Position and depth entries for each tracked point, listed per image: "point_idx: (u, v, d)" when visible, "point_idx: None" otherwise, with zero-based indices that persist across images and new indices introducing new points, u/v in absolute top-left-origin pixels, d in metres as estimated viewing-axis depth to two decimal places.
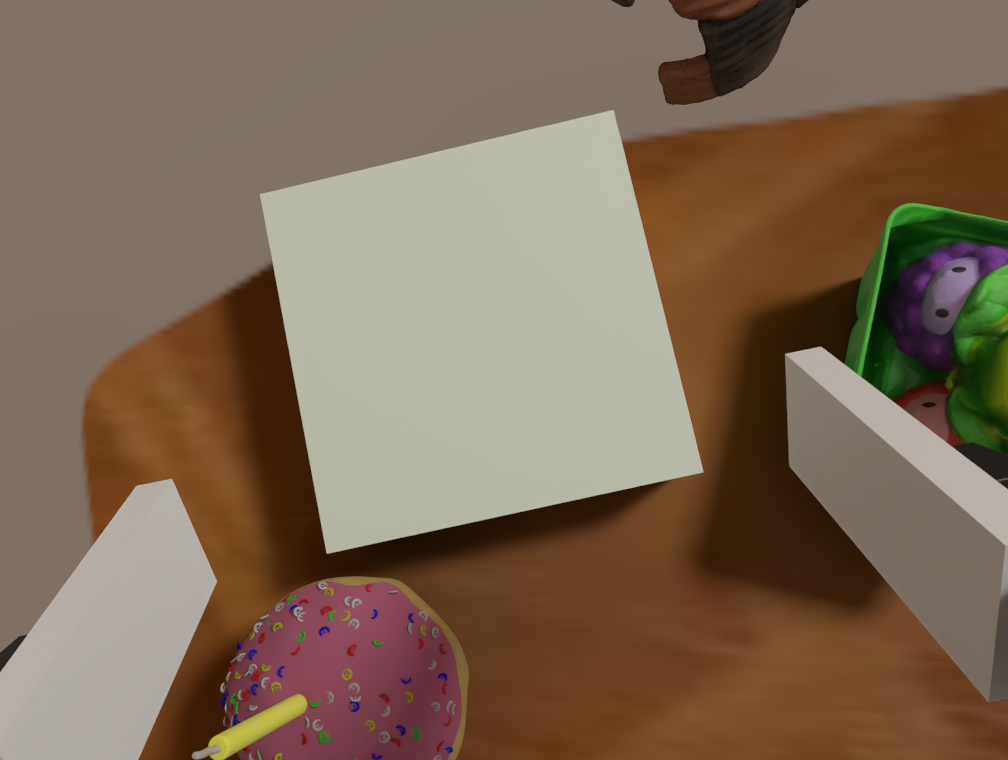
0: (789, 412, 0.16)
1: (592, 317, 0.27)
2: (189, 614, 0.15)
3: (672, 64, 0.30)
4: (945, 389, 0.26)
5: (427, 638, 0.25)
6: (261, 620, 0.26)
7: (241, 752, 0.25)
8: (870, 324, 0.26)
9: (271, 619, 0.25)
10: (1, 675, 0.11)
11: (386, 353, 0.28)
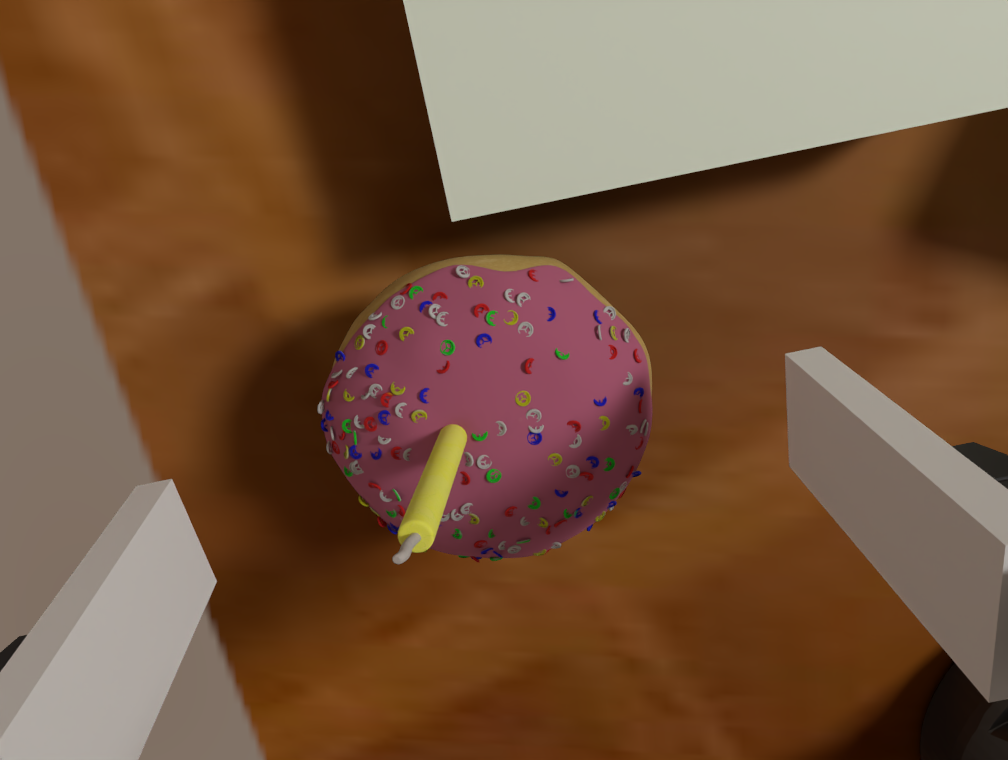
0: (789, 412, 0.16)
1: None
2: (189, 615, 0.15)
3: None
4: None
5: (618, 343, 0.18)
6: (371, 321, 0.17)
7: (364, 487, 0.18)
8: None
9: (389, 320, 0.17)
10: (2, 674, 0.11)
11: None
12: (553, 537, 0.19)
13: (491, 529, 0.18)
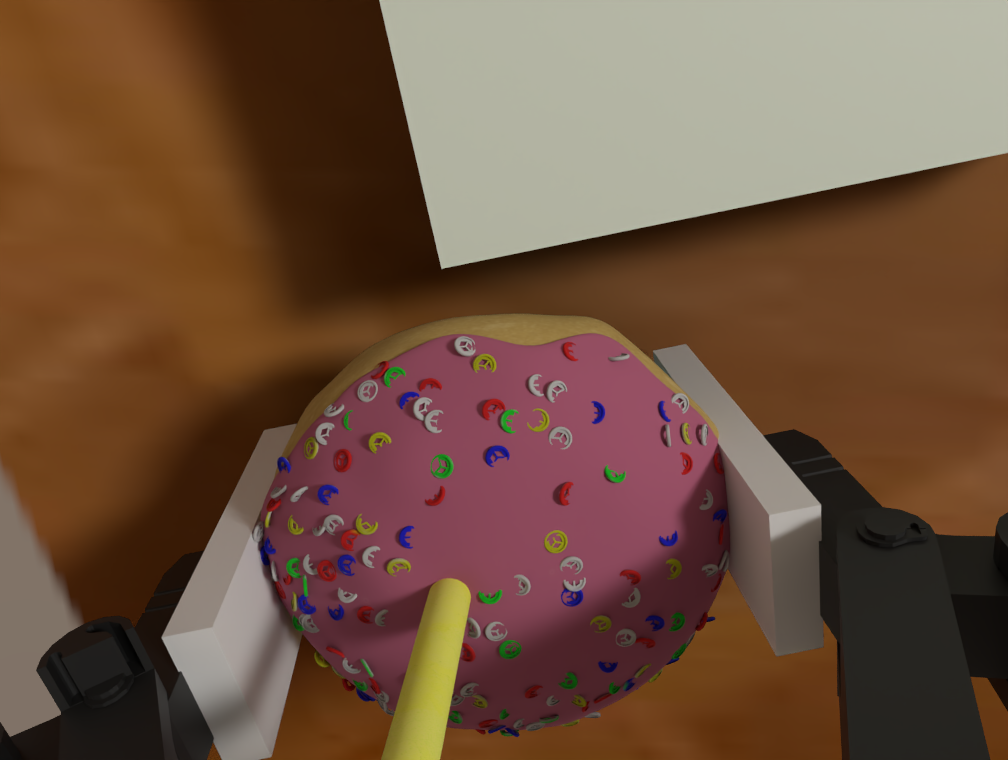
0: None
1: None
2: None
3: None
4: None
5: (693, 448, 0.12)
6: (328, 417, 0.12)
7: (321, 648, 0.13)
8: None
9: (354, 419, 0.11)
10: (195, 575, 0.12)
11: None
12: (591, 710, 0.13)
13: (504, 709, 0.13)
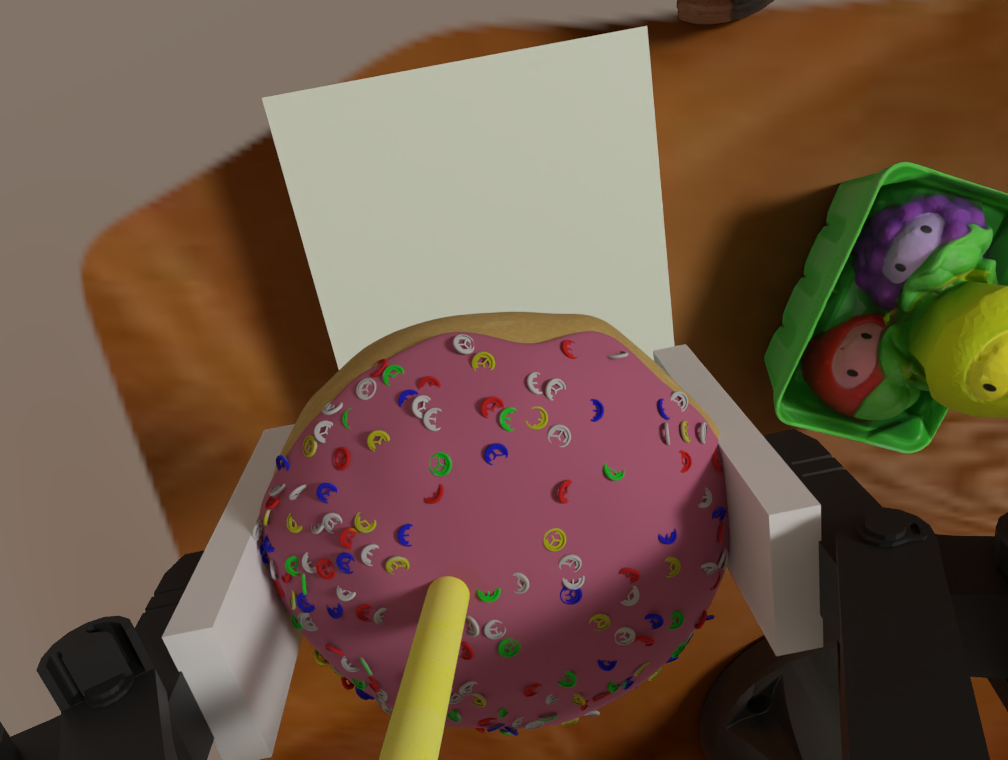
0: None
1: (601, 247, 0.29)
2: None
3: None
4: (882, 322, 0.31)
5: (692, 447, 0.12)
6: (327, 415, 0.12)
7: (319, 646, 0.13)
8: (840, 273, 0.29)
9: (353, 416, 0.11)
10: (196, 575, 0.12)
11: (406, 273, 0.29)
12: (590, 709, 0.13)
13: (502, 708, 0.13)
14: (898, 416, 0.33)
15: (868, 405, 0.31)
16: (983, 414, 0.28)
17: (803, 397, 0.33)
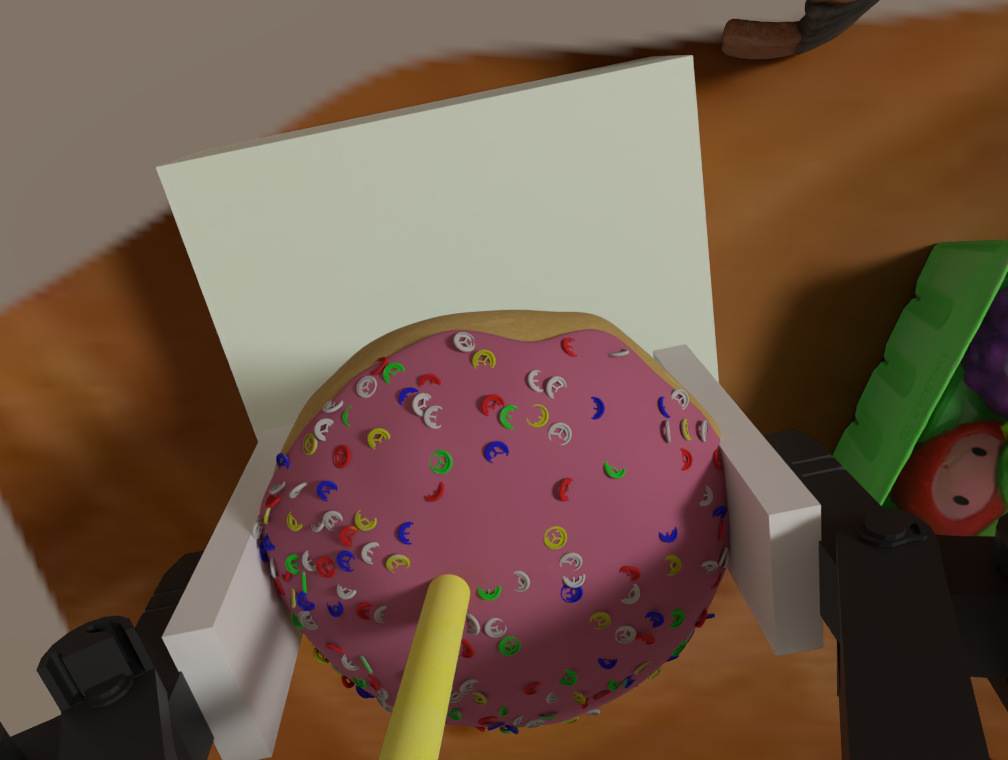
0: None
1: None
2: None
3: (747, 25, 0.20)
4: (1000, 433, 0.24)
5: (693, 445, 0.12)
6: (327, 413, 0.12)
7: (320, 645, 0.13)
8: (950, 377, 0.22)
9: (352, 414, 0.11)
10: (195, 575, 0.12)
11: None
12: (590, 707, 0.13)
13: (504, 706, 0.13)
14: None
15: None
16: None
17: None
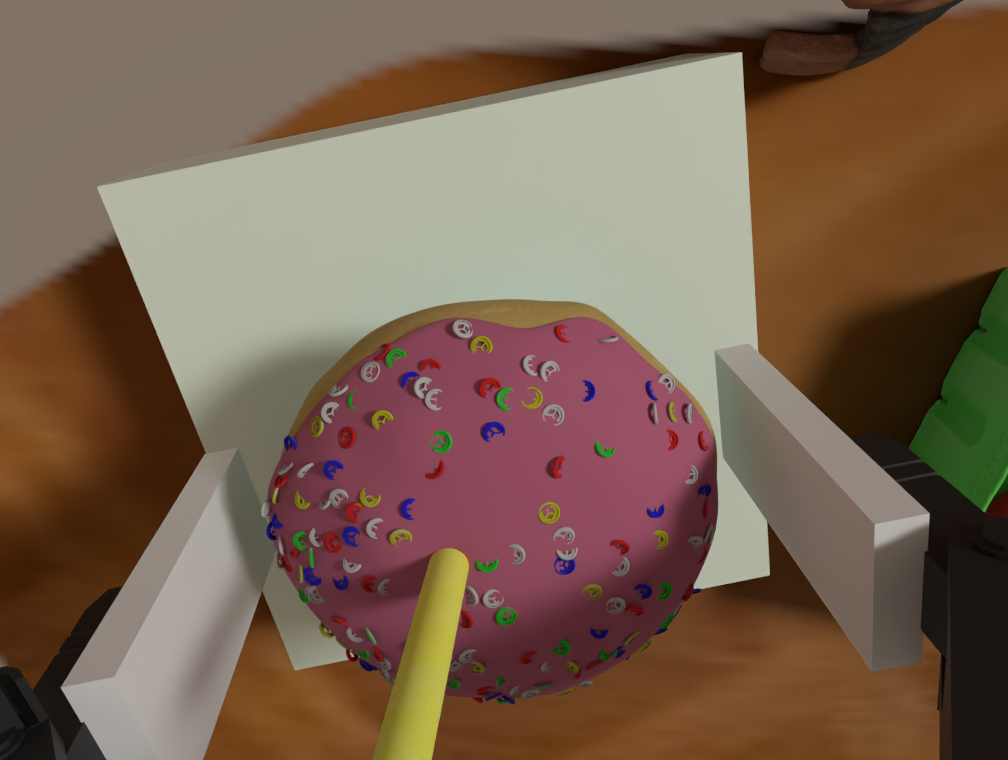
0: (720, 406, 0.16)
1: None
2: (256, 576, 0.16)
3: (793, 38, 0.17)
4: None
5: (679, 426, 0.13)
6: (333, 397, 0.12)
7: (325, 618, 0.13)
8: None
9: (357, 398, 0.12)
10: (107, 616, 0.11)
11: None
12: (583, 678, 0.14)
13: (500, 676, 0.13)
14: None
15: None
16: None
17: None
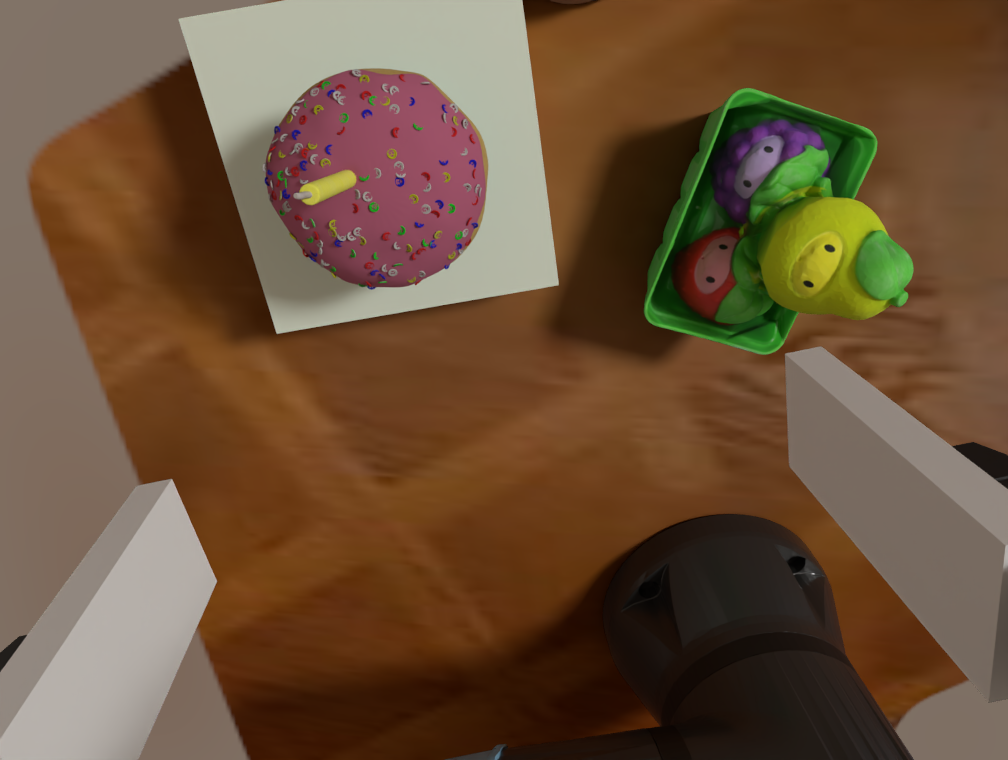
0: (789, 412, 0.16)
1: None
2: (189, 615, 0.15)
3: None
4: (737, 235, 0.35)
5: (459, 128, 0.27)
6: (297, 104, 0.27)
7: (292, 222, 0.28)
8: (695, 188, 0.34)
9: (308, 103, 0.27)
10: (2, 674, 0.11)
11: None
12: (418, 264, 0.29)
13: (375, 252, 0.28)
14: (757, 322, 0.38)
15: (723, 308, 0.36)
16: (808, 309, 0.32)
17: (673, 304, 0.37)
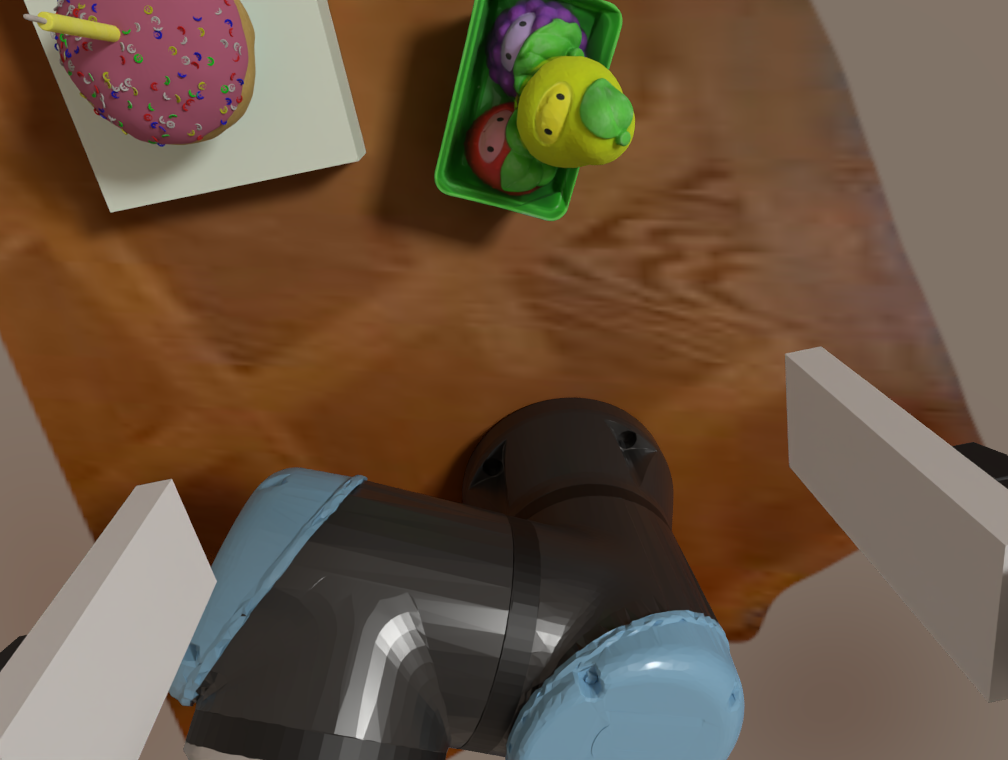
0: (789, 412, 0.16)
1: (276, 45, 0.38)
2: (188, 614, 0.15)
3: None
4: (513, 108, 0.40)
5: None
6: None
7: (78, 80, 0.33)
8: (462, 62, 0.38)
9: None
10: (1, 675, 0.11)
11: None
12: (192, 116, 0.33)
13: (149, 103, 0.33)
14: (546, 193, 0.42)
15: (504, 174, 0.40)
16: (557, 159, 0.36)
17: (468, 178, 0.42)
